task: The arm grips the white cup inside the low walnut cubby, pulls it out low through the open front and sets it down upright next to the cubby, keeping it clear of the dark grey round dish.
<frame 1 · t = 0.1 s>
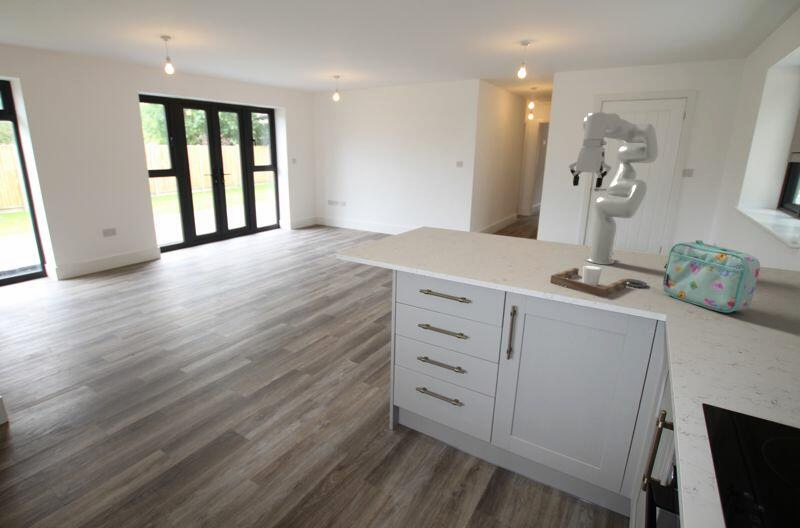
hand: (586, 186, 171), 37 cm above the worktop, tool pointing down, fingers open, 9 cm apart
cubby: (588, 284, 161), on the worktop
dark grey round dish: (633, 284, 162), on the worktop
lunch box: (699, 303, 143), on the worktop
white cup: (589, 284, 161), on the worktop
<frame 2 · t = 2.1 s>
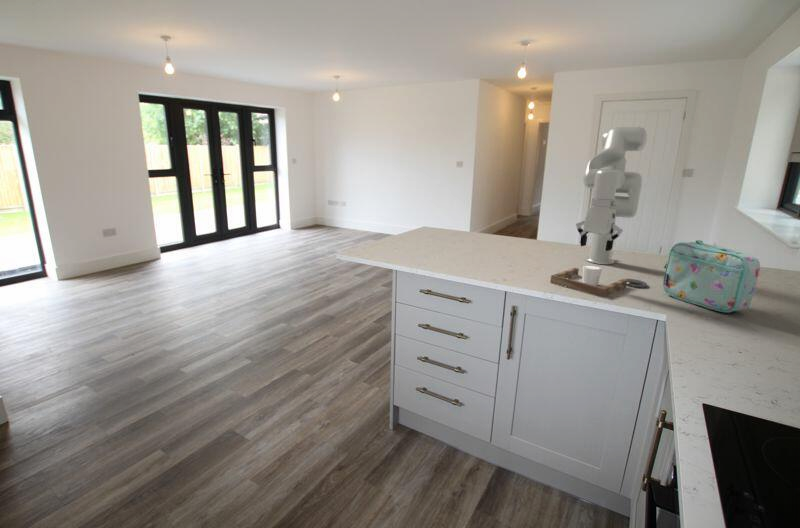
hand: (595, 248, 157), 15 cm above the worktop, tool pointing down, fingers open, 9 cm apart
nothing on the worktop moved.
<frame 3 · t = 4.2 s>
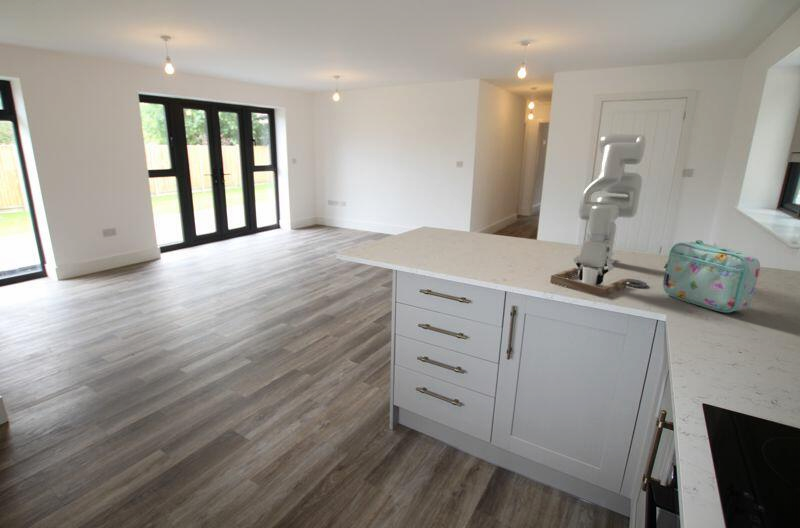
hand: (590, 281, 161), 1 cm above the worktop, tool pointing down, fingers closed on white cup, 6 cm apart
white cup: (589, 284, 161), on the worktop, touching gripper
everything else where it was.
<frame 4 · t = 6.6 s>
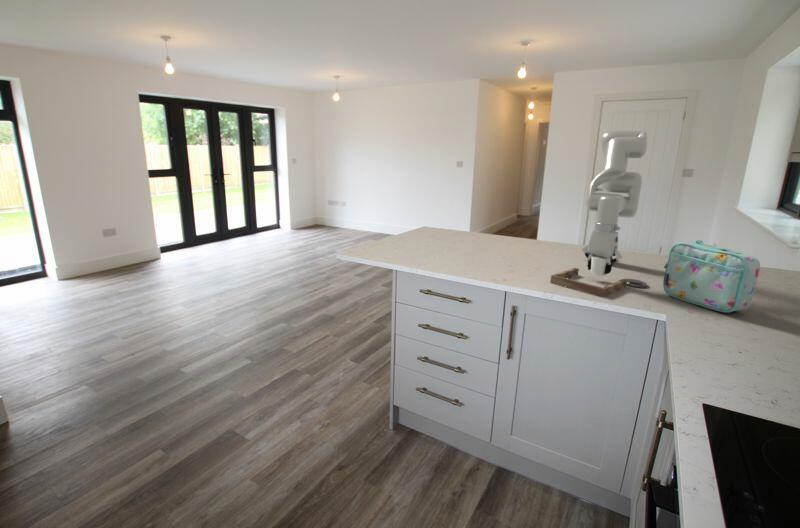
hand: (598, 270, 164), 4 cm above the worktop, tool pointing down, fingers closed on white cup, 6 cm apart
white cup: (598, 273, 165), point 3 cm above the worktop, touching gripper
everything else where it was.
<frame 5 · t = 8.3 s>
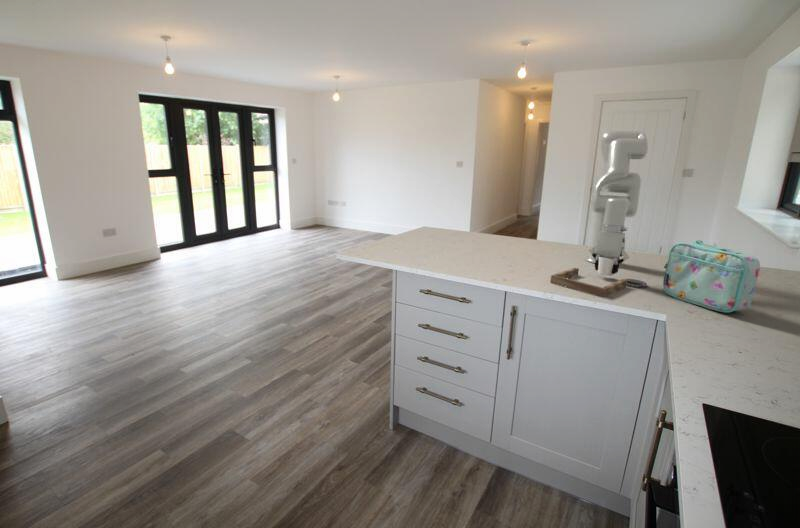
hand: (605, 271, 168), 3 cm above the worktop, tool pointing down, fingers closed on white cup, 6 cm apart
white cup: (605, 274, 169), point 2 cm above the worktop, touching gripper
everything else where it was.
when the fingers open (2 cm above the worktop, at t = 9.3 s): white cup stays where it is, on the worktop.
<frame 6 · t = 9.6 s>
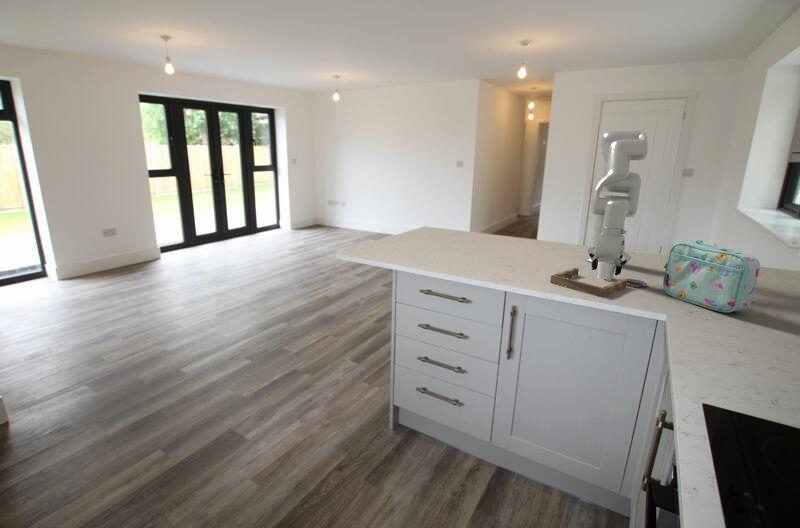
hand: (605, 272, 169), 3 cm above the worktop, tool pointing down, fingers open, 9 cm apart
white cup: (604, 278, 170), on the worktop
everything else where it was.
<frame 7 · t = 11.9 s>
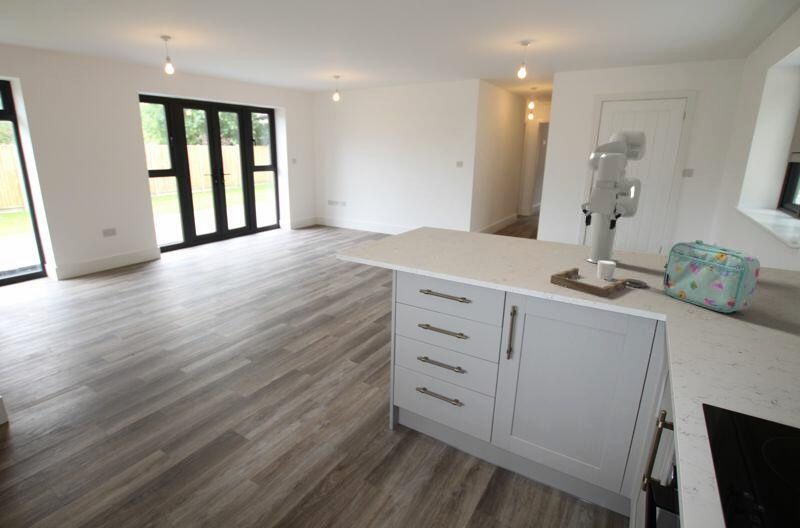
hand: (599, 227, 169), 21 cm above the worktop, tool pointing down, fingers open, 9 cm apart
nothing on the worktop moved.
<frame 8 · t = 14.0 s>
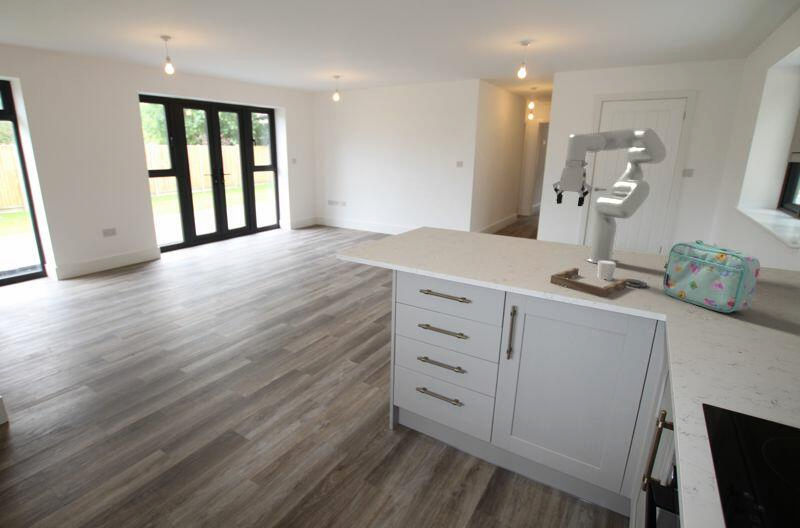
hand: (569, 204, 177), 28 cm above the worktop, tool pointing down, fingers open, 9 cm apart
nothing on the worktop moved.
at the end: white cup inside the target area (1.8 cm from its centre), on the worktop; white cup tilted 0°; white cup touching worktop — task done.
